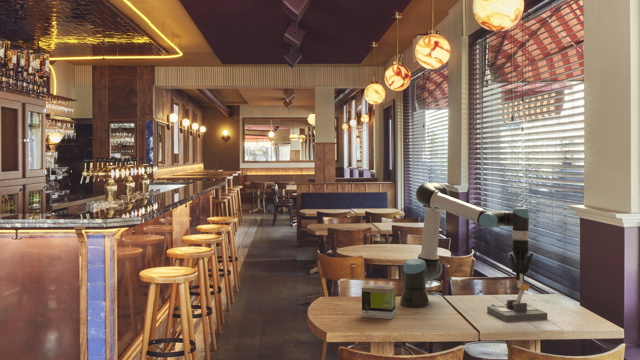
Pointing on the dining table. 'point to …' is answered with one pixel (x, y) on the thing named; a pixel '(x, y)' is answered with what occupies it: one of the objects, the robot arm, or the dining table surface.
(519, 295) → the breaker lever
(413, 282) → the robot arm
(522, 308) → the breaker box
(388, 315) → the tea box
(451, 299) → the dining table surface
